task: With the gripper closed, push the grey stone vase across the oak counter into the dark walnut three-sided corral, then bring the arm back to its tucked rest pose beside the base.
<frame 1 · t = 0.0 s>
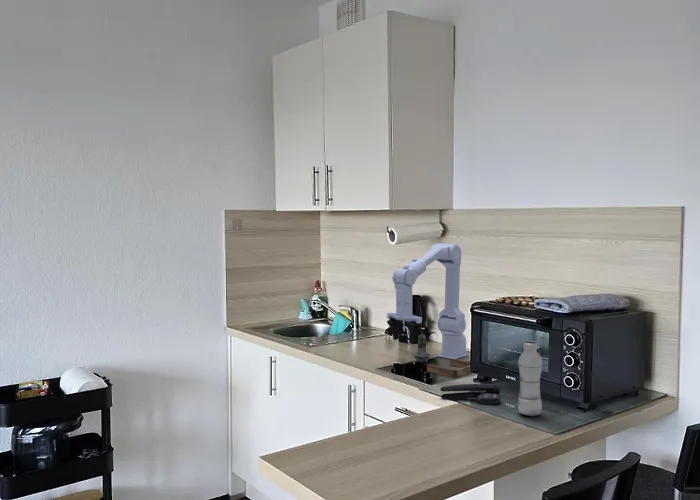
hand: (404, 341, 222), 10 cm above the worktop, fingers open, 7 cm apart
walnut corral: (453, 371, 220), on the worktop
plastic bottle: (529, 415, 172), on the worktop
grey stone vase: (421, 365, 230), on the worktop
can opener: (470, 401, 186), on the worktop
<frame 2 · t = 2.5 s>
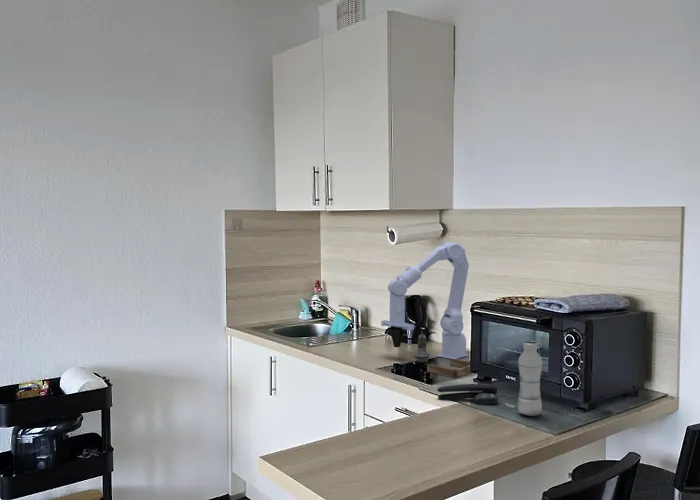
hand: (397, 346, 238), 5 cm above the worktop, fingers closed
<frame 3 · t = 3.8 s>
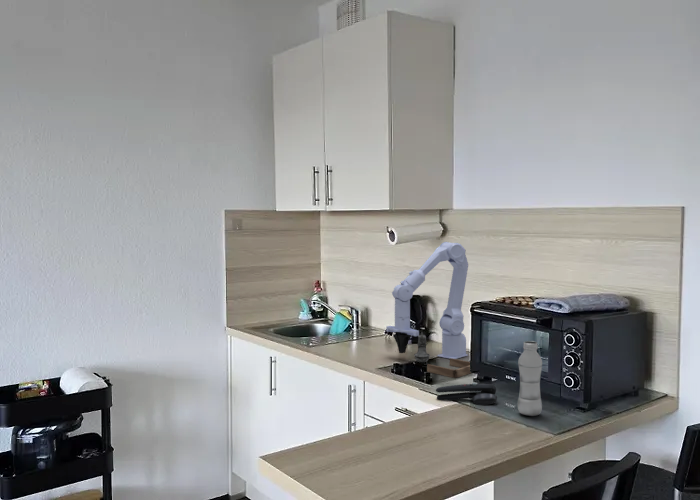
hand: (402, 352, 236), 3 cm above the worktop, fingers closed
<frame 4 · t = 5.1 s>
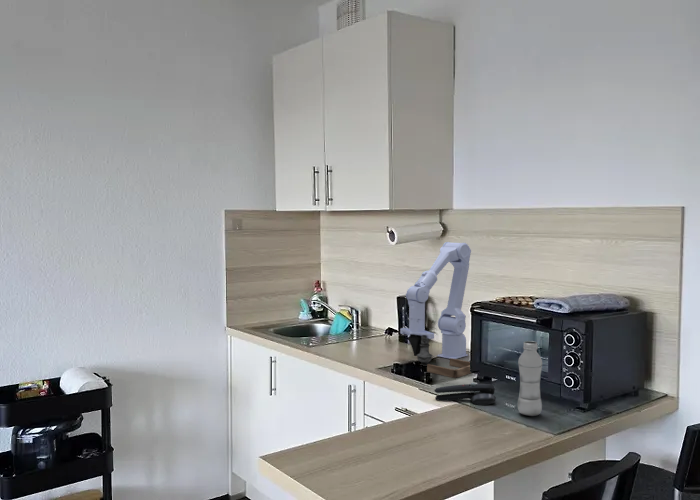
hand: (416, 355, 231), 3 cm above the worktop, fingers closed
grey stone vase: (424, 365, 229), on the worktop, touching gripper
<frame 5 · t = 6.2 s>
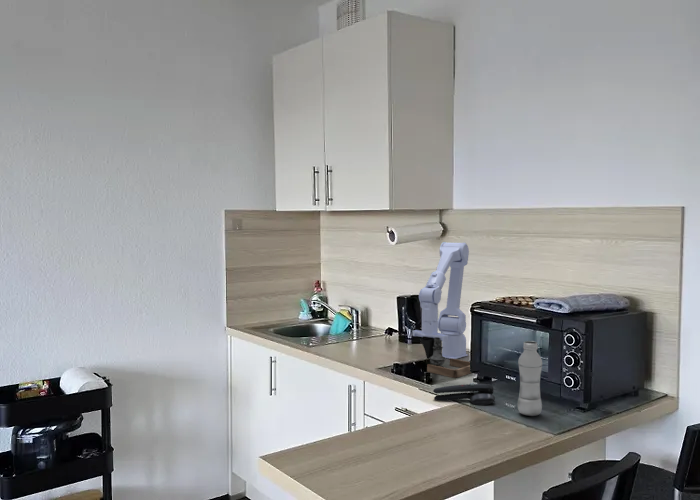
hand: (429, 358, 227), 3 cm above the worktop, fingers closed
grey stone vase: (437, 368, 225), on the worktop, touching gripper
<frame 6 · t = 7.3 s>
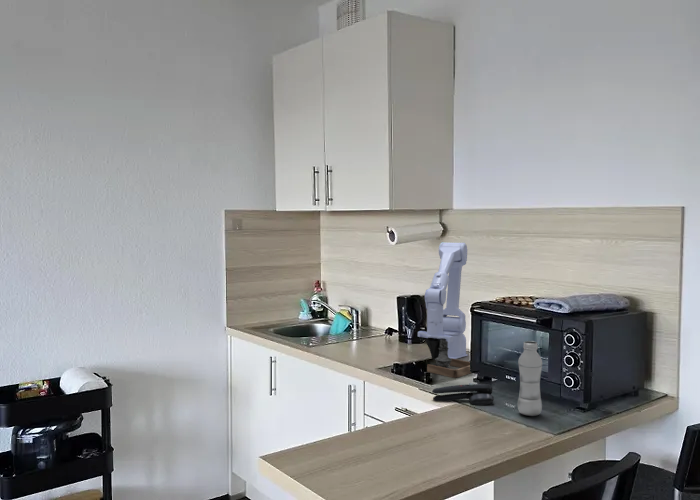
hand: (434, 359, 225), 3 cm above the worktop, fingers closed
grey stone vase: (442, 369, 223), on the worktop, touching gripper
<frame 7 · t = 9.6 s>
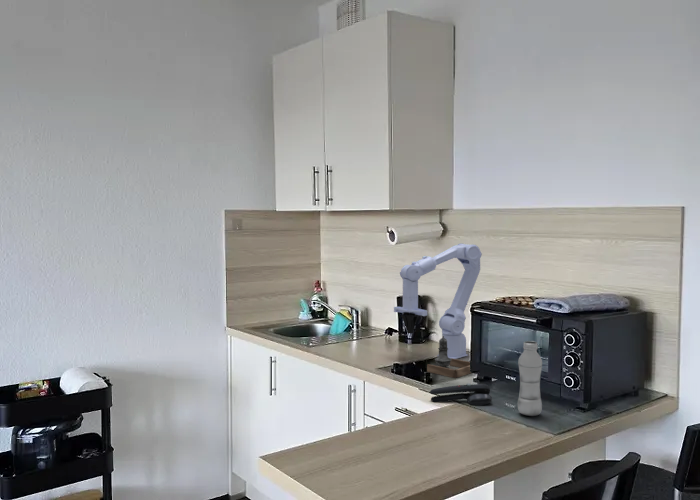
hand: (410, 333, 236), 10 cm above the worktop, fingers closed
grey stone vase: (442, 369, 223), on the worktop
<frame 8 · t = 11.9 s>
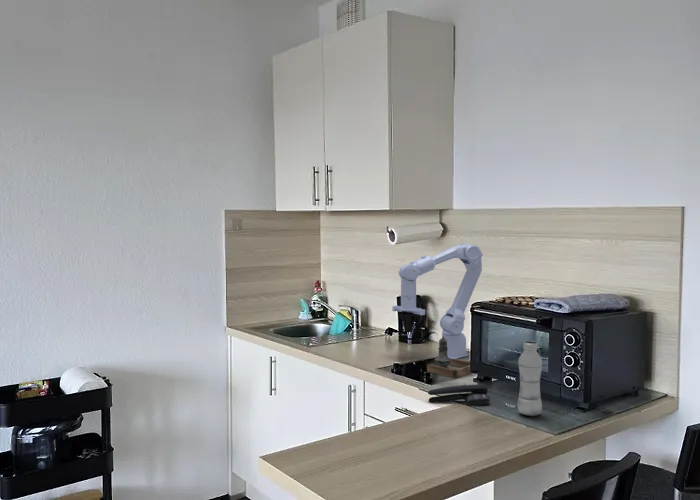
hand: (408, 332, 238), 10 cm above the worktop, fingers closed
at the end: grey stone vase inside the target area on the walnut corral (3.7 cm from its centre), point 0.0 cm above the walnut corral's base; grey stone vase tilted 0°; grey stone vase moved 9.6 cm from its start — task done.
